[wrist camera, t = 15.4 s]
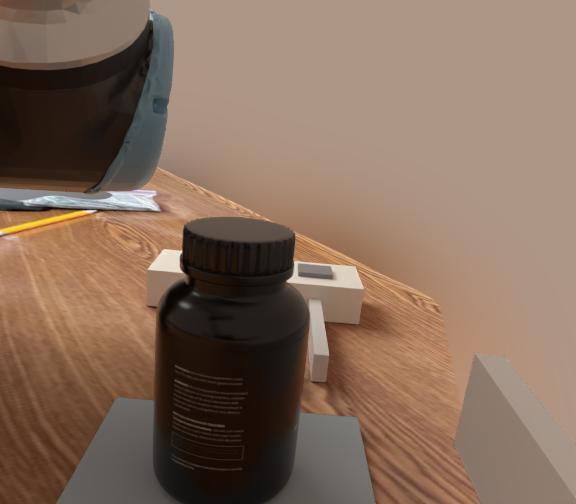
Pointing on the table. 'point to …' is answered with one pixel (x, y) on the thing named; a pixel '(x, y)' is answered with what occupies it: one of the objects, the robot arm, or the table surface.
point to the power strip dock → (307, 280)
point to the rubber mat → (155, 500)
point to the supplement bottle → (229, 364)
